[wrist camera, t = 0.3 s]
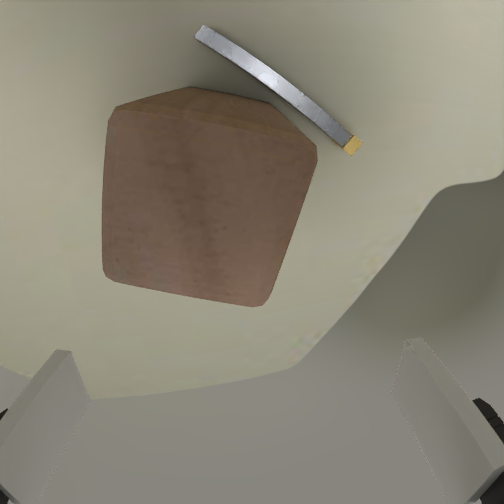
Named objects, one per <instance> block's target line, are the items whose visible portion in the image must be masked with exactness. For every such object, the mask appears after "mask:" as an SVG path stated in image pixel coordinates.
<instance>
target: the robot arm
mask: <svg viewBox="0 0 504 504" xmlns="http://www.w3.org/2000/svg"><path fill="white" fill-rule="evenodd" d="M392 395H393V396H394V398H395V400H396V402H397V404H398V406H399V408H400V410H401V412H402V413H403V415H404V417H405V419H406V421H407V423H408V425H409V427H410V429H411V431H412V433H413V435H414V437H415V439H416V441H417V442H418V445H419V446H420V449H421V450H422V453H423V455H424V457H425V459H426V460H427V463H428V465H429V467H430V469H431V471H432V473H433V475H434V477H435V479H436V482H437V484H438V486H439V488H440V490H441V492H442V494H443V497H444V499H445V501H446V503H447V504H474V503H475V502H476V501H477V500H478V499H479V498H480V500H481V501H482V504H504V424H503V421H502V420H501V418H500V417H498V416H497V415H498V414H497V413H496V412H495V411H494V409H493V408H492V407H491V406H490V405H489V404H488V403H486V402H485V401H483V400H482V399H480V398H478V399H475V400H471V399H470V397H469V396H468V395H467V393H466V392H465V391H464V389H463V388H462V387H461V386H460V384H459V383H458V382H457V381H456V379H455V378H454V377H453V376H452V374H451V373H450V372H449V371H448V369H447V368H446V367H445V366H444V364H443V363H442V362H441V361H440V359H439V358H438V357H437V356H436V355H435V353H434V352H433V351H432V350H431V349H430V347H429V346H428V345H427V344H426V343H425V341H424V340H423V339H422V338H416V339H410V340H405V342H404V346H403V351H402V355H401V359H400V363H399V367H398V371H397V375H396V379H395V382H394V386H393V389H392ZM90 401H91V399H90V397H89V395H88V393H87V390H86V388H85V386H84V384H83V381H82V379H81V376H80V374H79V372H78V369H77V367H76V364H75V361H74V359H73V356H72V353H71V351H66V350H56V351H55V352H54V353H53V354H52V356H51V357H50V358H49V359H48V360H47V361H46V363H45V364H44V365H43V366H42V367H41V369H40V370H39V371H38V372H37V374H36V375H35V376H34V377H33V379H32V380H31V381H30V382H29V384H28V385H27V386H26V387H25V389H24V390H23V391H22V392H21V394H20V395H19V396H18V398H17V399H16V400H15V401H14V403H13V404H12V405H11V407H10V408H9V409H6V410H4V411H3V412H1V413H0V504H7V502H8V500H9V499H10V500H11V501H12V502H13V503H14V504H39V502H40V500H41V498H42V495H43V493H44V491H45V489H46V487H47V485H48V483H49V481H50V478H51V476H52V474H53V472H54V470H55V468H56V466H57V464H58V462H59V460H60V458H61V456H62V454H63V452H64V450H65V448H66V446H67V444H68V442H69V440H70V439H71V437H72V435H73V433H74V431H75V429H76V427H77V425H78V423H79V421H80V420H81V418H82V416H83V414H84V412H85V411H86V409H87V407H88V405H89V403H90Z"/></svg>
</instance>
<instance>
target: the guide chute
mask: <svg viewBox="0 0 504 504" xmlns="http://www.w3.org/2000/svg"><path fill="white" fill-rule="evenodd" d="M194 38H195V39H197V40H198V41H199V42H201V43H203V44H204V45H206V46H208V47H209V48H211V49H212V50H214V51H216V52H217V53H219V54H220V55H222V56H223V57H225V58H226V59H228V60H230V61H231V62H233V63H234V64H236V65H237V66H239V67H240V68H241V69H243V70H244V71H246V72H247V73H249V74H250V75H252V76H253V77H254V78H256V79H257V80H259V81H260V82H261V83H263V84H264V85H266V86H267V87H268V88H270V89H271V90H272V91H274V92H275V93H276V94H278V95H279V96H280V97H282V98H283V99H284V100H286V101H287V102H288V103H289V104H291V105H292V106H293V107H295V108H296V109H297V110H298V111H300V112H301V113H302V114H303V115H305V116H306V117H307V118H308V119H309V120H311V121H312V122H313V123H314V124H315V125H317V126H318V127H319V128H320V129H321V130H323V131H324V132H325V133H326V134H327V135H328V136H330V137H331V138H332V141H333V142H334V143H336V144H337V145H338V146H339V147H340V148H341V149H343V150H344V151H345V152H346V153H348V154H349V155H350V156H352V155H353V154H354V153H355V151H356V150H357V149H358V148H359V147H360V146H361V145H362V142H361V141H360V140H358V139H357V138H356V137H355V136H354V135H352V134H351V133H349V132H347V131H346V130H345V129H344V128H343V127H342V126H341V125H340V124H338V123H337V122H336V121H335V120H334V119H333V118H332V117H331V116H329V115H328V114H327V113H326V112H325V111H324V110H322V109H321V108H320V107H319V106H318V105H317V104H315V103H314V102H313V101H312V100H311V99H309V98H308V97H307V96H306V95H304V94H303V93H302V92H301V91H299V90H298V89H297V88H296V87H294V86H293V85H292V84H291V83H289V82H288V81H287V80H285V79H284V78H283V77H281V76H280V75H279V74H277V73H276V72H275V71H273V70H272V69H271V68H269V67H268V66H266V65H265V64H264V63H262V62H261V61H259V60H258V59H257V58H255V57H254V56H252V55H251V54H249V53H248V52H246V51H245V50H243V49H242V48H240V47H239V46H237V45H236V44H234V43H233V42H231V41H230V40H228V39H227V38H225V37H223V36H222V35H220V34H219V33H217V32H215V31H214V30H212V29H210V28H209V27H207V26H205V25H203V26H202V27H201V28H200V29H199V31H198V32H197V33H196V34H195V36H194Z"/></svg>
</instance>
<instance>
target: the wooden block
mask: <svg viewBox="0 0 504 504" xmlns="http://www.w3.org/2000/svg"><path fill="white" fill-rule="evenodd" d="M316 164H317V150H316V145H315V144H314V143H313V142H312V141H311V140H310V139H308V138H307V137H306V136H305V135H304V134H303V133H302V132H301V131H300V130H299V129H298V128H297V127H296V126H295V125H293V124H292V123H291V122H290V121H289V120H288V119H287V118H286V117H285V116H283V115H282V114H281V113H280V112H279V111H278V110H277V109H276V108H274V107H273V106H272V105H270V104H269V103H267V102H263V101H259V100H255V99H251V98H246V97H242V96H237V95H232V94H227V93H222V92H217V91H212V90H206V89H201V88H195V87H186V88H181V89H177V90H173V91H169V92H165V93H161V94H157V95H153V96H150V97H146V98H143V99H139V100H136V101H132V102H129V103H126V104H123V105H120V106H117V107H115V109H114V111H113V113H112V115H111V117H110V118H109V120H108V128H107V137H106V147H105V158H104V173H103V192H102V263H103V271H104V273H105V275H106V277H108V278H109V279H111V280H113V281H114V282H118V283H123V284H128V285H133V286H137V287H142V288H147V289H152V290H157V291H162V292H167V293H173V294H178V295H183V296H189V297H194V298H200V299H206V300H211V301H217V302H223V303H229V304H235V305H241V306H248V307H256V306H262V305H263V304H264V303H265V302H266V301H267V300H268V298H269V296H270V294H271V292H272V289H273V287H274V284H275V281H276V279H277V276H278V273H279V270H280V268H281V265H282V262H283V259H284V257H285V254H286V251H287V248H288V245H289V243H290V240H291V237H292V234H293V231H294V228H295V226H296V223H297V220H298V217H299V214H300V211H301V208H302V205H303V203H304V200H305V197H306V194H307V191H308V188H309V185H310V182H311V179H312V176H313V173H314V170H315V167H316Z"/></svg>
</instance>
